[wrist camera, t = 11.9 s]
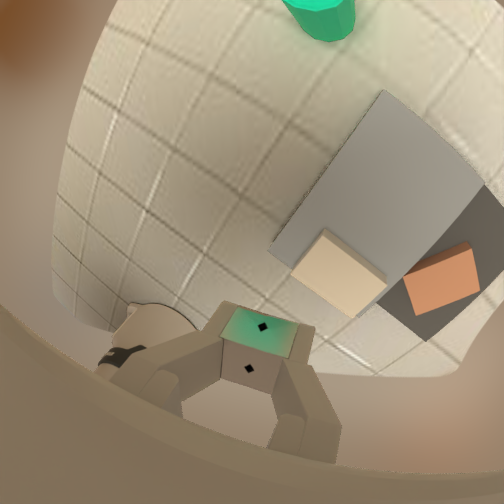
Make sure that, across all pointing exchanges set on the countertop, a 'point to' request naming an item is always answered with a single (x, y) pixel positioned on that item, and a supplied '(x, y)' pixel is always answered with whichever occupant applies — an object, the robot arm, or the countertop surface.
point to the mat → (461, 230)
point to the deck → (384, 193)
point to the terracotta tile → (442, 278)
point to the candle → (324, 17)
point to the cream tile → (339, 274)
